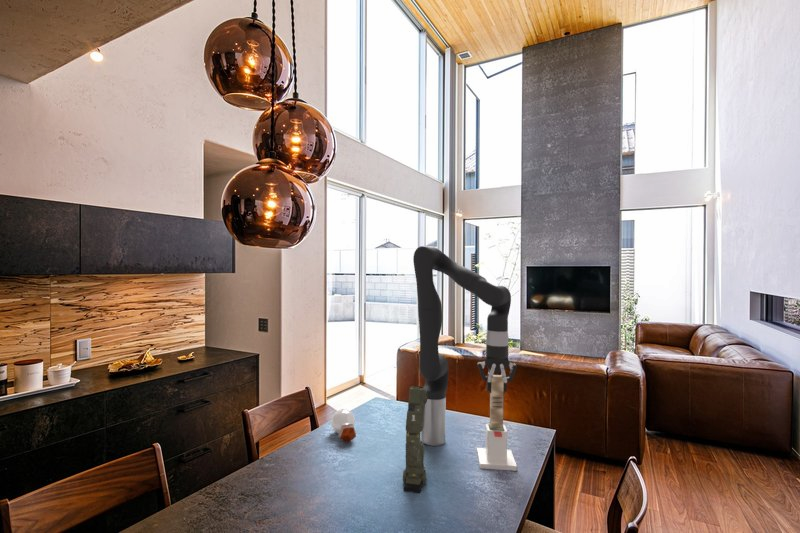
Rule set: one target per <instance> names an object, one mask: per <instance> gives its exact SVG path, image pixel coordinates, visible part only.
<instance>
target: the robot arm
mask: <svg viewBox="0 0 800 533" xmlns="http://www.w3.org/2000/svg"><path fill="white" fill-rule="evenodd" d="M412 258H413V259H412V260H413V268H414V274H415V280H416V293H417V294H416V295H417V312H418V313H417V315H418V330H419V364H418V365H419V368H418V369H419V372H420V374H421V376H422V378H423V379H424V380H425V382H424V385H423V386H422V388H425V389H426V390H427V403H426V404H425V414H424V426H423V430H422V432H421V433H420V442H421V441H422V443H423V444H425V445H428V446H432V447H433V446H434V447H436V446H437V447H438V446H441V445H444V444H445V443H446V417H447V416H446V413H447V412H446V411H447V410H446V409H447V407H446V406H447V404H446V402H447V391H448V386H449V363H448V360H447V358H446V356H445V355H443V354H442V353H439V339H440V334H441V330H442V326H443V306H442V302H441V301H442V300H441V298H440V296H439V293H438V290H437V289H436V287H435V282H434V273H433V271H437V272H440V273H442V274H444V275H446V276H447V277H449V278H450V279H451V280H453V281H454V282H455V284H457V285H458V286H460V287H461V288H463V290H464V289H465V290H466V291H467V292H469V293H471V294H474V295H475V296H476V297H477V298H478V299H479V300H481V301H482V302H483V303H485V304H486V305H488V306H491V311H490V312H489V314H488V315H487V324H486V325H487V326H486V338H485V343H486V344H485V359H484V361H478V362H477V367H478V370H479V372H480V377H481V379H482V381H485V382H486V390H487V392H488V393H489V394H490V393H491V377H492V376H493V375H494V374H496V373H498V374H500V375H502V377H503V378H504V387H503V395H504V394H505V393H507V390H508V383H509V382H513V380H514V377H515V375H516V372H517V369H518V365H517V364H516V363H512V362H510V360H509V325H508V324H509V313H510V309H511V304H512V303H511V302H512V296H511V292H510V290H509V288H507V287H506V286H503V285H494V284H492V283H490V282H488V280H487V278H485V277H484V276H482V275H481V274H478V273H477V272H475V271H472V270H471V269H469V268H467V267H465V266H463V265H462V264H459V263H458V262H456V261H455V260H453V259H452V258H450V257H449V256H448V255H446V254H445V253H444V252H443V251H442V250H440V249H439V248H438V247H435V246H426V245H422V246H418V247H417V248H416V249H415V251H414V252H413V257H412ZM485 366H486V367H487V369H488V372H487V375H486V374H485V372H484V368H485ZM507 368H509V369H510V371H509V373H508V376H507V374H506V370H507Z"/></svg>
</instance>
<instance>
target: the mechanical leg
mask: <svg viewBox="0 0 800 533" xmlns="http://www.w3.org/2000/svg"><path fill="white" fill-rule="evenodd" d="M408 393H409V394H408V403H407V412H406V421H405V432H406V433H405V469H404V470H403V472H402V482H403V483H404V485H403V491H404V492H408V493H416V494H420V493H421V491H422V490H423V488H424V486H426V483H427V471H426V470H427V469H425V466H424V465H425V464H424V459H425V445H424V443H422V441H421V432H422V430H423V426H424V414H425V404H426V403H427V390H426V389H425V388H423V386H421V385H413V386H410V387H409V390H408Z"/></svg>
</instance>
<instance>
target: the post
mask: <svg viewBox="0 0 800 533" xmlns="http://www.w3.org/2000/svg"><path fill="white" fill-rule="evenodd" d="M503 387H504V378H503V377H502V375H501V374H493V376H492V377H491V393H489V423H488V424H489V425H490V430H497V431H503V425H504V394H503Z"/></svg>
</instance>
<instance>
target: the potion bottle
mask: <svg viewBox="0 0 800 533" xmlns="http://www.w3.org/2000/svg"><path fill="white" fill-rule="evenodd" d="M330 420H331V422H330V424H331V427H332V430H333V431H334V433H336V434H337V436H338V437H339V439H340V440H341V441H343V442H345V443H347V444H349V443H350V442H351V441H353V440H354V439H355V438H356V437H357V436H356V435H357V432H356V429H355V422H356V419H355V416H354V413H353V412H351V411H350V410H349V409H344V408H340V409H338V410H336V411H335V413H334V414H333V415H332V417H331V419H330Z"/></svg>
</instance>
